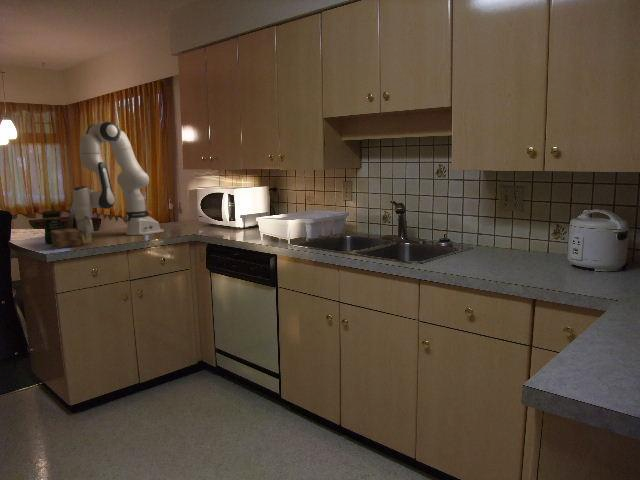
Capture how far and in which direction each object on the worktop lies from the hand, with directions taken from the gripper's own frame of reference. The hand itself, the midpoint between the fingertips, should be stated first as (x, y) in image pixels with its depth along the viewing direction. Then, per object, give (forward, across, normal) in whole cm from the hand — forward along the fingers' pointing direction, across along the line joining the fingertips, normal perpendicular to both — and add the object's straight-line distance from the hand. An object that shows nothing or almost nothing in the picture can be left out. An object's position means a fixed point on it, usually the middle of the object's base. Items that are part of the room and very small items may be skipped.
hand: (86, 239), depth 286 cm
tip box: (+2, -3, +11) cm, 12 cm away
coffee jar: (+2, +18, +13) cm, 22 cm away
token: (+2, 0, 0) cm, 2 cm away
